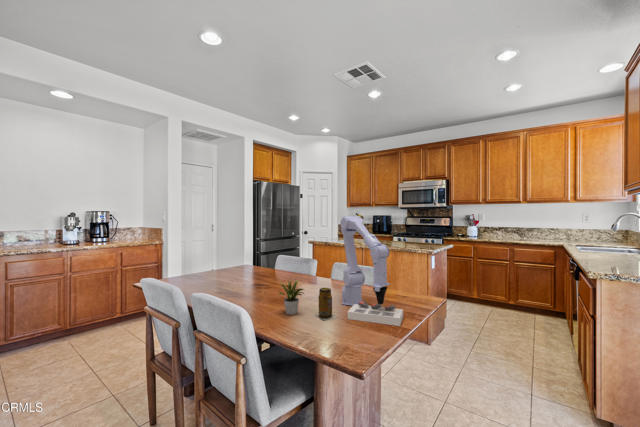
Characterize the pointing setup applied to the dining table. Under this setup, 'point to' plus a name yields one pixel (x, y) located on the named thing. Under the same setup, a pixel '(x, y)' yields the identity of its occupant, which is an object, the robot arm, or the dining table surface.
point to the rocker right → (390, 307)
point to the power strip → (376, 315)
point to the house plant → (291, 297)
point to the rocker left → (363, 304)
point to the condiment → (325, 304)
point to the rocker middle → (376, 306)
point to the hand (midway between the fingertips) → (380, 303)
